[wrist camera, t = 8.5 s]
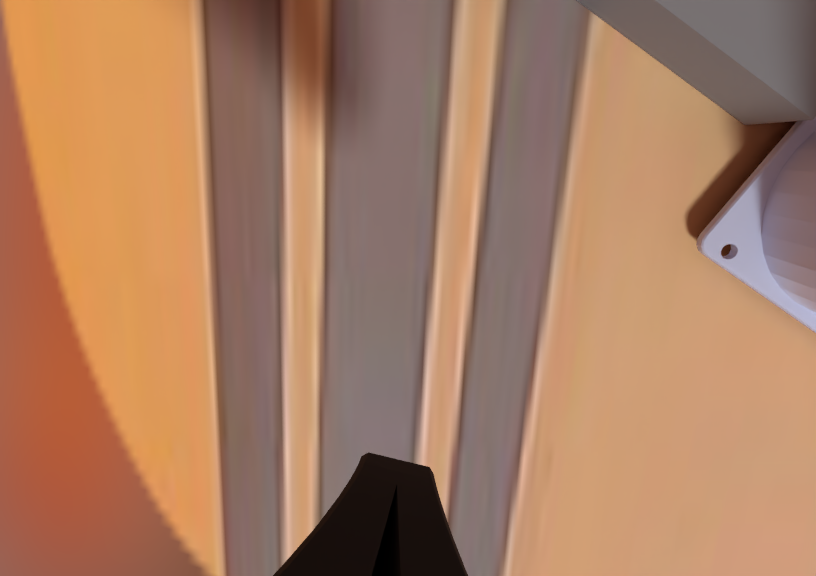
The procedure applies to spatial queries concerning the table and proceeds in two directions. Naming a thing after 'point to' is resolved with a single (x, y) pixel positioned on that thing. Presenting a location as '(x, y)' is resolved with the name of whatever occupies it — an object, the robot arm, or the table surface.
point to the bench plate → (729, 50)
